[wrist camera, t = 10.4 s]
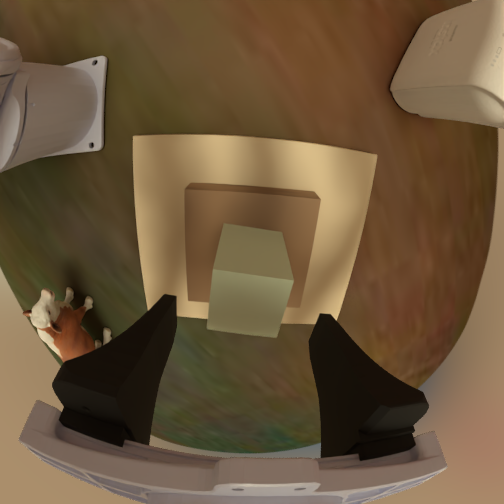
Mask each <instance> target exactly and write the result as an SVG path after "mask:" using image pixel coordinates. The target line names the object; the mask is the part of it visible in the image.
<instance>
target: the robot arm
mask: <svg viewBox="0 0 504 504" xmlns="http://www.w3.org/2000/svg"><path fill="white" fill-rule="evenodd" d="M96 61H98V62H97V64H96V65H95V62H96ZM106 70H107V58H106V57H105V56H98V57H94V58H90V59H86V60H82V61H78V62H75V63H71V64H68V65H65V66H59V65H51V64H42V63H31V62H22V56H21V54H20V51H19V47H18V46H17V45H16V44H14V43H13V42H11V41H9V40H6V39H3V38H0V172H3V171H5V170H8V169H10V168H13V167H15V166H18V165H20V164H23V163H26V162H28V161H31V160H34V159H37V158H41V157H47V156H55V155H62V154H71V153H80V152H90V151H98V150H101V149H102V148H103V145H104V97H105V81H106ZM92 142H93V143H94V147H92V146H91V144H92ZM176 328H177V296H175V295H169V294H164V295H163V296H162V297H161V298H160V299H159V300H158V301H157V302H156V303H155V304H154V305H153V306H152V307H151V308H150V309H149V310H148V311H147V312H146V313H145V314H144V315H143V316H142V317H141V318H140V319H139V320H138V321H136V322H135V323H134V324H133V325H132V326H131V327H129V328H128V329H127V330H126V331H124V332H123V333H122V334H120V335H119V336H117V337H116V338H114V339H113V340H111V341H110V342H108V343H106V344H104V345H103V346H101V347H99V348H97V349H95V350H93V351H91V352H89V353H86V354H84V355H81V356H79V357H76V358H73V359H70V360H67V361H65V362H64V363H63V365H62V366H61V368H60V370H59V371H58V373H57V375H56V377H55V379H54V381H53V383H52V387H53V389H54V392H55V394H56V395H57V397H58V398H59V400H60V401H61V403H62V404H63V406H64V408H63V411H62V412H61V411H59V410H58V409H57V408H55V407H53V406H50V405H48V404H46V403H44V402H42V401H40V400H37V401H36V403H35V404H34V407H33V409H32V411H31V413H30V415H29V417H28V419H27V421H26V424H25V426H24V428H23V430H22V433H21V435H20V437H19V441H20V442H21V443H22V444H23V445H24V446H25V447H27V449H29V450H30V451H31V452H32V453H33V454H34V455H36V456H37V457H38V458H39V459H41V460H42V461H43V462H45V463H47V464H49V465H51V466H53V467H55V468H57V469H59V470H61V471H63V472H65V473H67V474H69V475H71V476H73V477H75V478H78V479H80V480H82V481H85V482H87V483H89V484H92V485H94V486H96V487H99V488H101V489H104V490H106V491H109V492H112V493H114V494H117V495H120V496H123V497H126V498H129V499H132V500H135V501H139V502H142V503H146V504H362V503H366V502H370V501H373V500H376V499H380V498H383V497H386V496H389V495H392V494H395V493H398V492H401V491H404V490H407V489H410V488H412V487H415V486H418V485H420V484H421V483H423V482H425V481H427V480H428V479H430V478H432V477H433V476H435V475H437V474H438V473H440V472H441V471H443V470H445V469H446V468H447V464H446V461H445V458H444V455H443V452H442V450H441V447H440V444H439V441H438V439H437V436H436V434H435V431H431V432H428V433H424V434H421V435H418V436H416V437H413V435H412V433H413V432H414V431H415V429H414V426H413V425H414V424H415V423H416V422H417V421H418V420H419V419H421V418H422V417H423V415H424V414H425V413H426V412H427V410H428V408H429V404H428V402H427V400H426V398H425V395H424V393H423V392H422V391H420V390H418V389H415V388H413V387H411V386H409V385H407V384H406V383H404V382H402V381H400V380H399V379H397V378H396V377H394V376H393V375H391V374H390V373H388V372H387V371H386V370H384V369H383V368H382V367H380V366H379V365H378V364H377V363H375V362H374V361H373V360H372V359H371V358H370V357H369V356H368V355H367V354H366V353H365V352H364V351H363V350H362V349H361V348H360V347H359V346H358V345H357V344H356V343H355V342H354V341H353V340H352V339H351V337H350V336H349V335H348V334H347V333H346V332H345V330H344V329H343V328H342V327H341V326H340V324H339V323H338V322H337V321H336V320H335V318H334V317H333V316H332V315H331V314H324V313H320V314H319V316H318V319H317V322H316V324H315V327H314V329H313V332H312V334H311V337H310V339H309V352H310V360H311V365H312V369H313V374H314V378H315V382H316V387H317V391H318V397H319V406H320V419H321V458H315V459H312V458H250V457H230V458H222V457H212V456H204V455H197V454H189V453H184V452H177V451H172V450H167V449H162V448H158V447H153V446H149V442H150V433H151V426H152V420H153V413H154V408H155V402H156V397H157V392H158V388H159V383H160V380H161V377H162V374H163V371H164V368H165V365H166V362H167V359H168V356H169V354H170V351H171V348H172V345H173V342H174V337H175V333H176Z"/></svg>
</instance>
